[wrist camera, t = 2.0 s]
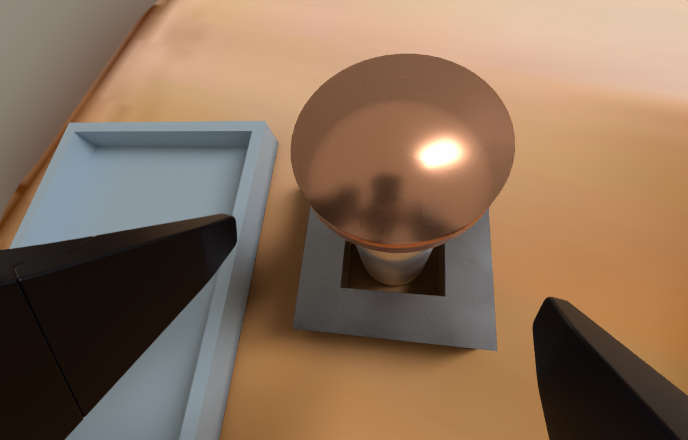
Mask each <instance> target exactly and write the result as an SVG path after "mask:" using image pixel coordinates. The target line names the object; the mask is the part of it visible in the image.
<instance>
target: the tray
mask: <svg viewBox="0 0 688 440" xmlns="http://www.w3.org/2000/svg"><path fill="white" fill-rule="evenodd" d="M277 148H278V141H277V140H276V138H275V136H274V135H273V133H272V131H271V130H270V128H269V126H268V124H267V123H266V121H211V122H104V123H69V125H68V127H67V129H66V131H65V133H64V135H63V137H62V139H61V141H60V143H59V146H58V148H57V150H56V152H55V154H54V156H53V158H52V160H51V162H50V164H49V166H48V169H47V171H46V173H45V175H44V177H43V179H42V181H41V183H40V185H39V187H38V190H37V192H36V194H35V196H34V198H33V200H32V202H31V204H30V206H29V208H28V211H27V213H26V215H25V217H24V219H23V221H22V223H21V225H20V227H19V229H18V232H17V234H16V236H15V238H14V240H13V242H12V244H11V246H10V248H9V249H12V248H19V247H26V246H33V245H40V244H47V243H53V242H59V241H65V240H72V239H78V238H83V237H89V236H96V235H101V234H107V233H112V232H118V231H124V230H130V229H135V228H141V227H147V226H153V225H158V224H164V223H170V222H175V221H181V220H187V219H193V218H198V217H204V216H210V215H216V214H227V215H231V216H234V217H235V219H236V226H237V243H236V246H235V247H234V249H233V250H232V251H231V253H230V254H229V255H228V257H227V258H226V259H225V261H224V262H223V263H222V265H221V266H220V267H219V269H218V270H217V272H216V273H215V274H214V276H213V277H212V278H211V279H210V281H209V282H208V283H207V284H206V285H205V286H204V288H203V289H202V290H201V291H200V292H199V293H198V294H197V295H196V296H195V297H194V299H193V300H192V301H191V302H190V303H189V304H188V305H187V306H186V307H185V308H184V310H183V311H182V312H181V313H180V314H179V315H178V316H177V317H176V318H175V319H174V320H173V322H172V323H171V324H170V325H169V326H168V327H167V328H166V329H165V330H164V331H163V332H162V334H161V335H160V336H159V337H158V338H157V339H156V340H155V341H154V342H153V343H152V345H151V346H150V347H149V348H148V349H147V350H146V351H145V352H144V353H143V354H142V355H141V357H140V358H139V359H138V360H137V361H136V362H135V363H134V364H133V365H132V366H131V368H130V369H129V370H128V371H127V372H126V373H125V374H124V375H123V376H122V377H121V378H120V380H119V381H118V382H117V383H116V384H115V385H114V386H113V387H112V388H111V389H110V390H109V392H108V393H107V394H106V395H105V396H104V397H103V398H102V399H101V400H100V401H99V403H98V404H97V405H96V406H95V407H94V408H93V409H92V410H91V411H90V412H89V413H88V415H87V416H86V417H84V419H83V420H82V421H81V423H80V424H79V425H78V426H77V427H76V428H75V429H74V430H73V431H72V432H71V433H70V435H69V436H68V437H67V438H66V439H65V440H219V438H220V433H221V428H222V423H223V418H224V413H225V408H226V403H227V398H228V393H229V388H230V383H231V378H232V373H233V368H234V363H235V358H236V353H237V348H238V343H239V338H240V333H241V328H242V323H243V318H244V313H245V308H246V303H247V298H248V293H249V288H250V283H251V278H252V273H253V268H254V263H255V258H256V253H257V248H258V243H259V238H260V233H261V228H262V223H263V218H264V213H265V208H266V203H267V198H268V193H269V188H270V183H271V178H272V173H273V168H274V163H275V158H276V153H277Z"/></svg>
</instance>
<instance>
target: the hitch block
mask: <svg viewBox="0 0 688 440" xmlns="http://www.w3.org/2000/svg"><path fill="white" fill-rule="evenodd" d="M350 252H351V242H349V241H347V240H345V239H343V238H342V237H340V236H338V235H337V234H336V233H334V232H333V231H332V230H330V229H329V228H328V227H327V226H326V225H325V224H324V223H323V222H322V221H321V220H320V219H319V217H318V216H317V215H316V213H315V212H314V211H313V209H312V208H311V206H310V212H309V219H308V226H307V233H306V240H305V246H304V253H303V260H302V267H301V273H300V280H299V287H298V294H297V300H296V307H295V314H294V321H293V328H292V329H300V330H309V331H318V332H327V333H336V334H346V335H355V336H364V337H373V338H382V339H391V340H400V341H410V342H419V343H428V344H437V345H446V346H455V347H464V348H473V349H483V350H492V351H497V338H496V322H495V306H494V289H493V273H492V257H491V240H490V224H489V208H488V209H487V210H486V211H485V213H484V214H483V215H482V217H481V218H480V219H479V220H478V221H477V222H476V223H475V224H474V225H473V226H472V227H470V228H469V229H468V230H467V231H465V232H464V233H463V234H461V235H460V236H458V237H456V238H455V239H453V240H451V241H449V242H447V243H445V244H442V245H440V246H438V296H433V295H421V294H409V293H398V292H386V291H374V290H362V289H350V288H347V284H348V273H349V263H350Z"/></svg>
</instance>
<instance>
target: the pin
mask: <svg viewBox="0 0 688 440" xmlns="http://www.w3.org/2000/svg"><path fill="white" fill-rule="evenodd" d="M514 153H515V135H514V130H513V125H512V122H511V119H510V116H509V113H508V111H507V109H506V107H505V105H504V104H503V102H502V100H501V99H500V97H499V96H498V95H497V93H496V92H495V91H494V90H493V89H492V88H491V87H490V86H489V85H488V84H487V83H486V82H485V81H484V80H483V79H481V78H480V77H479V76H477V75H476V74H475V73H473V72H471V71H470V70H468V69H466V68H465V67H463V66H460V65H458V64H456V63H454V62H451V61H448V60H445V59H442V58H438V57H433V56H428V55H420V54H394V55H386V56H380V57H375V58H372V59H368V60H365V61H362V62H360V63H357V64H355V65H352V66H350V67H348V68H346V69H344V70H342V71H341V72H339V73H338V74H336V75H335V76H333V77H332V78H330V79H329V80H328V81H326V82H325V83H324V84H323V85H322V86H320V88H319V89H318V90H317V91H316V92H315V93H314V94H313V95H312V96H311V97H310V99H309V100H308V101H307V103H306V104H305V106H304V107H303V109H302V111H301V113H300V114H299V117H298V119H297V122H296V124H295V127H294V131H293V135H292V141H291V162H292V167H293V172H294V175H295V178H296V181H297V184H298V186H299V187H300V189H301V191H302V193H303V195H304V196H305V198H306V200H307V201H308V203H309V204H310V206H311V208H312V209H313V211H314V212H315V213H316V215H317V216H318V217H319V219H320V220H321V221H322V222H323V223H324V224H325V225H326V226H327V227H328V228H329V229H330V230H332V231H333V232H334V233H336V234H337V235H338V236H340V237H342V238H343V239H345V240H347V241H349V242H351V243H353V244H355V245H356V247H357V249H358V252H359V254H360V257H361V259H362V262H363V264H364V267H365V269H366V270H367V272H368V273H369V274H370V275H371V276H372V277H373V278H374V279H375V280H377V281H379V282H381V283H383V284H386V285H393V286H397V285H403V284H406V283H409V282H410V281H412V280H414V279H415V278H416V277H417V276H418V275H419V274H420V273H421V271H422V270H423V268H424V266H425V264H426V262H427V260H428V258H429V256H430V254H431V252H432V250H433V248H435V247H437V246H440V245H442V244H445V243H447V242H449V241H451V240H453V239H455V238H456V237H458V236H460V235H461V234H463V233H464V232H465V231H467V230H468V229H469V228H470V227H472V226H473V225H474V224H475V223H476V222H477V221H478V220H479V219H480V218H481V217H482V215H483V214H484V213H485V211H486V210H487V209H488V208H489V206H490V205H491V204H492V202H493V201H494V200H495V198H496V197H497V196H498V194H499V193H500V191H501V190H502V188H503V187H504V185H505V183H506V181H507V179H508V177H509V174H510V171H511V168H512V165H513V160H514Z"/></svg>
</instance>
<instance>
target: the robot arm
mask: <svg viewBox="0 0 688 440" xmlns="http://www.w3.org/2000/svg"><path fill="white" fill-rule="evenodd" d="M236 243H237V226H236V219H235V217H234V216H231V215H227V214H216V215H210V216H204V217H198V218H193V219H187V220H181V221H175V222H170V223H164V224H158V225H153V226H147V227H141V228H135V229H130V230H124V231H118V232H112V233H107V234H101V235H96V236H89V237H83V238H78V239H72V240H65V241H59V242H53V243H47V244H40V245H33V246H26V247H19V248H12V249H5V250H0V440H65V439H66V438H67V437H68V436H69V435H70V433H71V432H72V431H73V430H74V429H75V428H76V427H77V426H78V425H79V424H80V423H81V421H82V420H83V419H84V417H86V416H87V415H88V413H89V412H90V411H91V410H92V409H93V408H94V407H95V406H96V405H97V404H98V403H99V401H100V400H101V399H102V398H103V397H104V396H105V395H106V394H107V393H108V392H109V390H110V389H111V388H112V387H113V386H114V385H115V384H116V383H117V382H118V381H119V380H120V378H121V377H122V376H123V375H124V374H125V373H126V372H127V371H128V370H129V369H130V368H131V366H132V365H133V364H134V363H135V362H136V361H137V360H138V359H139V358H140V357H141V355H142V354H143V353H144V352H145V351H146V350H147V349H148V348H149V347H150V346H151V345H152V343H153V342H154V341H155V340H156V339H157V338H158V337H159V336H160V335H161V334H162V332H163V331H164V330H165V329H166V328H167V327H168V326H169V325H170V324H171V323H172V322H173V320H174V319H175V318H176V317H177V316H178V315H179V314H180V313H181V312H182V311H183V310H184V308H185V307H186V306H187V305H188V304H189V303H190V302H191V301H192V300H193V299H194V297H195V296H196V295H197V294H198V293H199V292H200V291H201V290H202V289H203V288H204V286H205V285H206V284H207V283H208V282H209V281H210V279H211V278H212V277H213V276H214V274H215V273H216V272H217V270H218V269H219V267H220V266H221V265H222V263H223V262H224V261H225V259H226V258H227V257H228V255H229V254H230V253H231V251H232V250H233V249H234V247H235V246H236ZM533 340H534V351H535V362H536V373H537V382H538V388H539V394H540V398H541V403H542V408H543V412H544V417H545V422H546V426H547V431H548V435H549V440H688V396H687V395H686V394H685V393H684V392H682V391H681V390H680V389H678V388H677V387H676V386H675V385H673V384H672V383H671V382H670V381H668V380H667V379H666V378H665V377H663V376H662V375H661V374H659V373H658V372H657V371H656V370H654V369H653V368H652V367H651V366H649V365H648V364H647V363H645V362H644V361H643V360H642V359H640V358H639V357H638V356H637V355H635V354H634V353H633V352H632V351H630V350H629V349H628V348H626V347H625V346H624V345H623V344H621V343H620V342H619V341H618V340H616V339H615V338H614V337H612V336H611V335H610V334H609V333H607V332H606V331H605V330H604V329H602V328H601V327H600V326H599V325H597V324H596V323H595V322H593V321H592V320H591V319H590V318H588V317H587V316H586V315H585V314H583V313H582V312H581V311H579V310H578V309H577V308H576V307H574V306H573V305H572V304H571V303H569V302H568V301H566V300H562V299H558V298H554V297H547V298H546V299H545V300H544V302H543V304H542V306H541V308H540V310H539V312H538V314H537V316H536V318H535V320H534V322H533Z"/></svg>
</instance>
